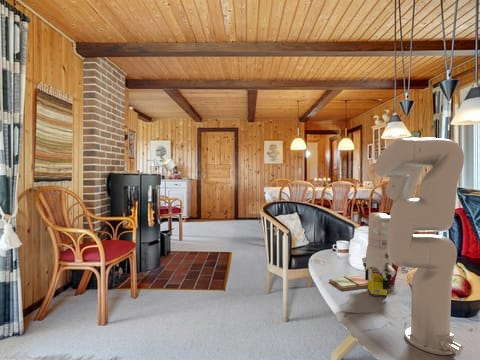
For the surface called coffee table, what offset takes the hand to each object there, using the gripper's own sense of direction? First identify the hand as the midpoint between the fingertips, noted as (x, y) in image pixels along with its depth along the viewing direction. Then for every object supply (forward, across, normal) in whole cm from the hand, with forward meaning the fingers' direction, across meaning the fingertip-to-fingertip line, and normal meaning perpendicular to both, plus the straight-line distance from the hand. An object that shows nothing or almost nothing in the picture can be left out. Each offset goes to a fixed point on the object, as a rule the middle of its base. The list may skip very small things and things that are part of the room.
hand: (377, 284), depth 117 cm
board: (+4, +11, +4) cm, 12 cm away
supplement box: (+4, 0, 0) cm, 4 cm away
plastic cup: (+4, +9, -14) cm, 17 cm away
